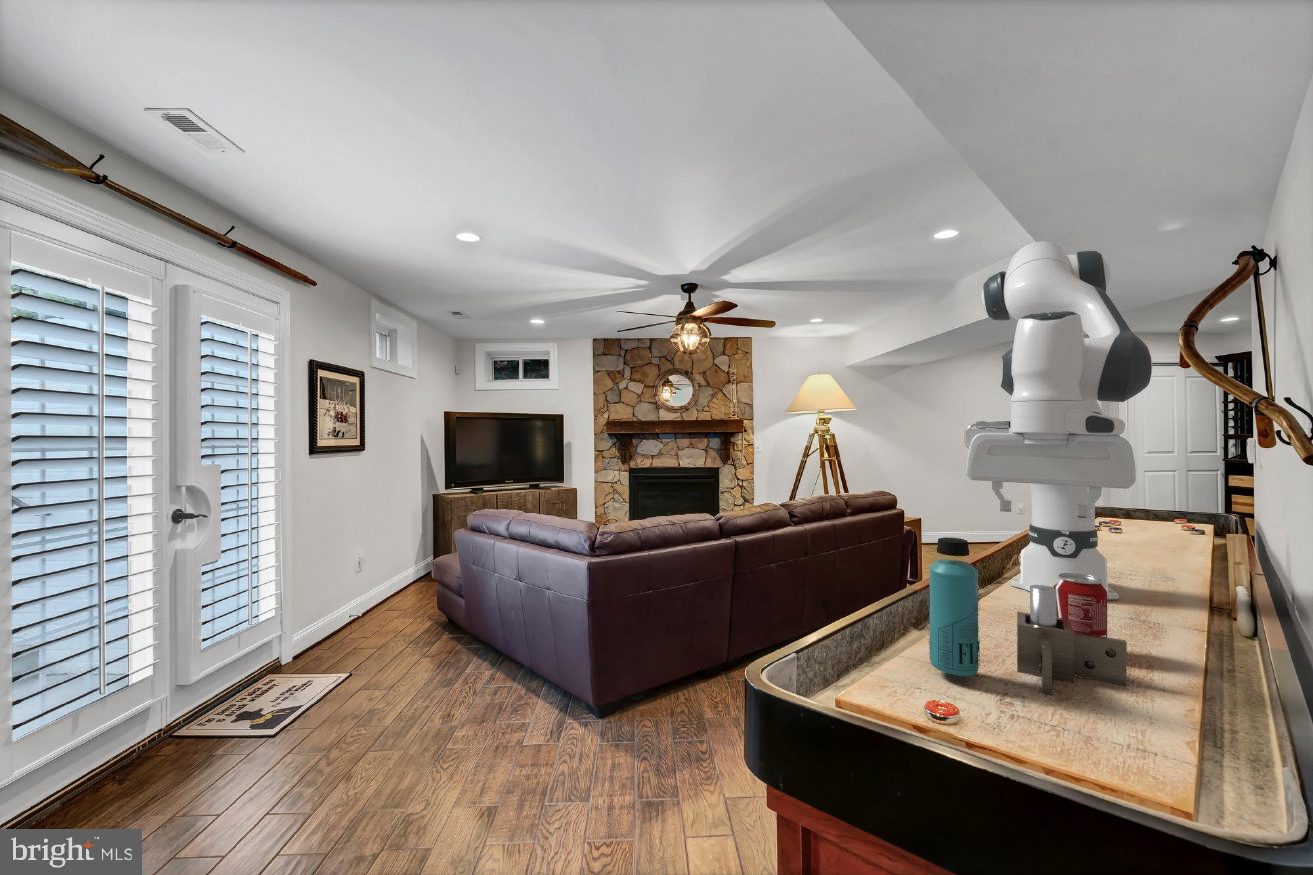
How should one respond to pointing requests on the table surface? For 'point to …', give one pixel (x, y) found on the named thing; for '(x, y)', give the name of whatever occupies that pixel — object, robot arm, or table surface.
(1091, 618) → the soda can
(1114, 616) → the table surface
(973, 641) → the beverage bottle
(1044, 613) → the pin
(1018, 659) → the grey metal bracket
